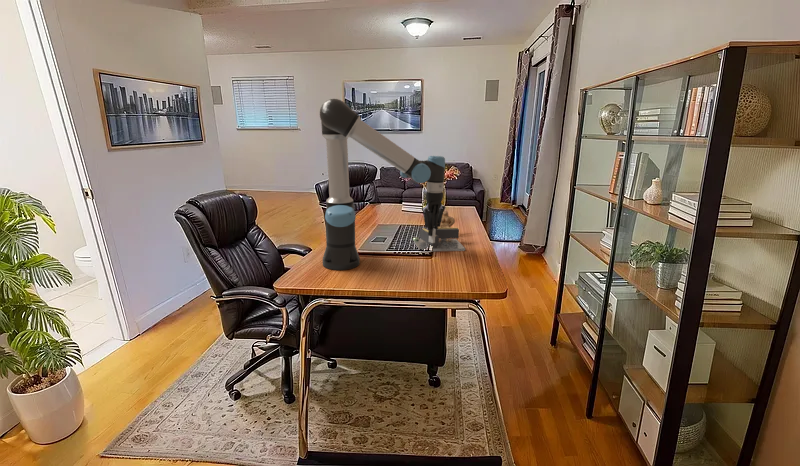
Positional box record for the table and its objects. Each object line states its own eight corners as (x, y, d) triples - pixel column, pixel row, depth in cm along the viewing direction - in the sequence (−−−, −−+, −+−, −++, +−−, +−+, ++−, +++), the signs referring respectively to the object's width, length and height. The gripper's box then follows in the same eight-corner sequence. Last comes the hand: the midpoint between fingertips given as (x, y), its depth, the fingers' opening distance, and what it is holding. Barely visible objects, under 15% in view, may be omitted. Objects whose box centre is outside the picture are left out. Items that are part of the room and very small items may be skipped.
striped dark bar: (432, 248, 173) (432, 235, 171) (419, 239, 185) (420, 228, 183) (438, 247, 174) (439, 235, 172) (425, 239, 186) (425, 227, 185)
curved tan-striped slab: (458, 240, 186) (459, 228, 184) (430, 240, 184) (431, 228, 183) (456, 238, 189) (457, 226, 187) (429, 238, 187) (429, 227, 186)
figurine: (431, 237, 196) (433, 208, 197) (435, 238, 205) (436, 211, 206) (452, 238, 193) (453, 209, 194) (454, 239, 202) (456, 211, 203)
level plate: (417, 251, 172) (417, 247, 172) (412, 241, 188) (412, 237, 187) (465, 250, 175) (465, 246, 175) (455, 240, 190) (456, 236, 190)
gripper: (430, 193, 159) (427, 246, 166) (450, 191, 167) (447, 242, 174) (418, 191, 165) (415, 242, 171) (439, 189, 173) (435, 238, 179)
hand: (431, 242), depth 172 cm, fingers closed
